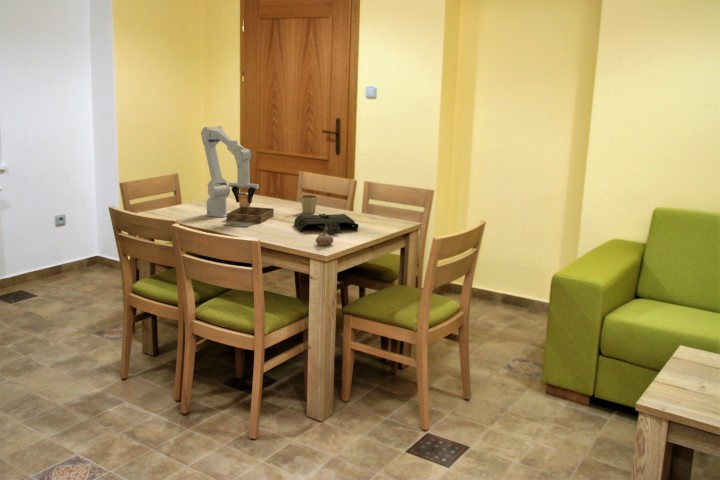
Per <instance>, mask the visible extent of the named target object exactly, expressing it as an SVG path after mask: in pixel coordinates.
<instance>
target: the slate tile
mask: <svg viewBox="0 0 720 480" xmlns="http://www.w3.org/2000/svg"><path fill="white" fill-rule="evenodd" d="M254 224H255V223H254V222H241V221H227V222H226V223H224V224H223V226H224V227H236V228H237V227H238V228H250V227H252V226H253V225H254Z"/></svg>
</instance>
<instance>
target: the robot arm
mask: <svg viewBox="0 0 720 480" xmlns="http://www.w3.org/2000/svg"><path fill="white" fill-rule="evenodd" d="M200 137H201V141H202V145H203V148H204V151H205V156H206V161H207V165H208V169H209V175H210V179H211V180H210V181H208V183H207V193H208V194H207V195H208V196H209V197H208V198H207V199H206V215H205V216H206V217H216V218H225V217H227V213H228V208H227V202H228V201H227V199H228V198H229V195H230V193H231V192H232V193H233V195H234V198H235V202H236V204H237V203H238V204H239V197H238V193H240V189H247V192H248V197H249V198H248V202H249V203H250V204H252V201H253V198H254V194H255V192H256V190H258V189H259V188H260V186H259V185H260V184H258V183H257V184H256V183H251V181H250V179H251V178H250V176H251V175H250V161H251V160H252V158H253V154H252V150H251V149H250V148H245V147H244V146H242V145H241V144H240V143H239V142H238V140H233V139H231V138H230V136H229V135H228V134H227V133H226V132H225V128H223V126H220V125H218V126H204V127H202V129H201V132H200ZM220 142H221V143H222V144H224V145H225V146H226V147H227V150H228V151H229V152H230V153H231V154H232V155H233V156H234V161H235V164H236V167H237V168H236V169H237V172H236V173H237V176H236V177H237V180H236V181H237V182H228V181H227V180H226V179H225V178H223V175H222V172H221V171H222V170H221V166H220V163H219V162H220V161H219V157H218V153H217V148H216V146H217V145H219V143H220Z"/></svg>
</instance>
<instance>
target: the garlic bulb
mask: <svg viewBox="0 0 720 480" xmlns="http://www.w3.org/2000/svg"><path fill="white" fill-rule="evenodd" d="M333 242H334V237H333V236H332V235H331V234H328V233H327V227H326V226H324V229H323V232H321V233H319V234H318V235H317V237H316V238H315V243H316V244H317V245H318V246H321V245H322V246H323V245H326V246H328V245H330V244H333Z"/></svg>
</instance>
